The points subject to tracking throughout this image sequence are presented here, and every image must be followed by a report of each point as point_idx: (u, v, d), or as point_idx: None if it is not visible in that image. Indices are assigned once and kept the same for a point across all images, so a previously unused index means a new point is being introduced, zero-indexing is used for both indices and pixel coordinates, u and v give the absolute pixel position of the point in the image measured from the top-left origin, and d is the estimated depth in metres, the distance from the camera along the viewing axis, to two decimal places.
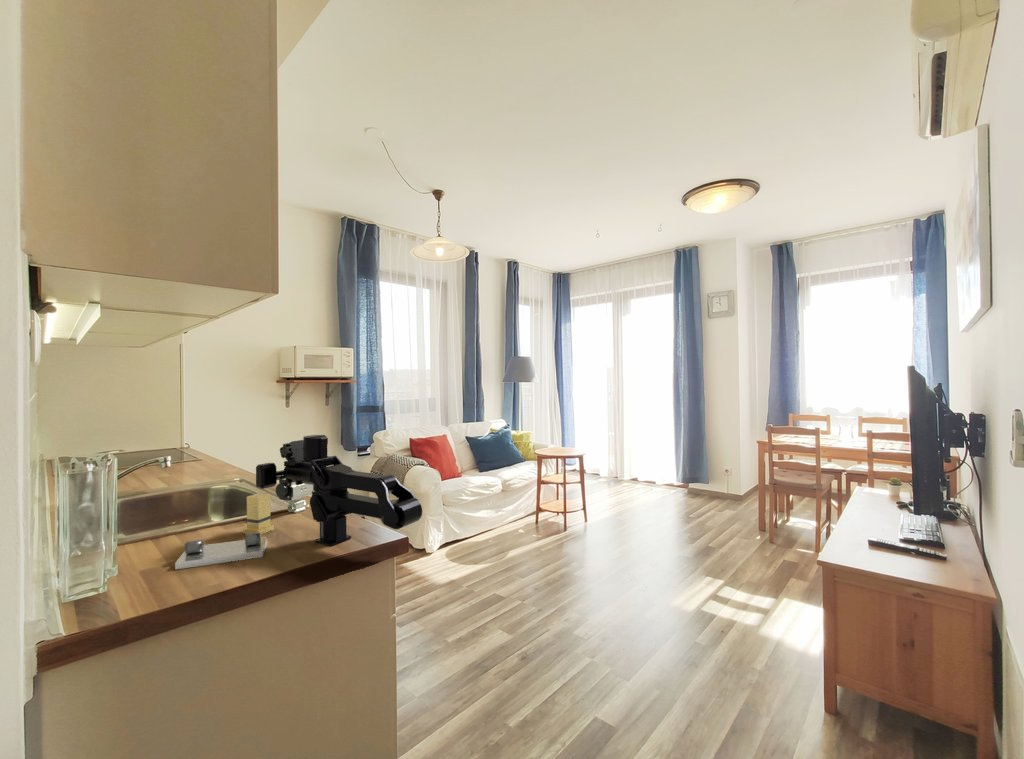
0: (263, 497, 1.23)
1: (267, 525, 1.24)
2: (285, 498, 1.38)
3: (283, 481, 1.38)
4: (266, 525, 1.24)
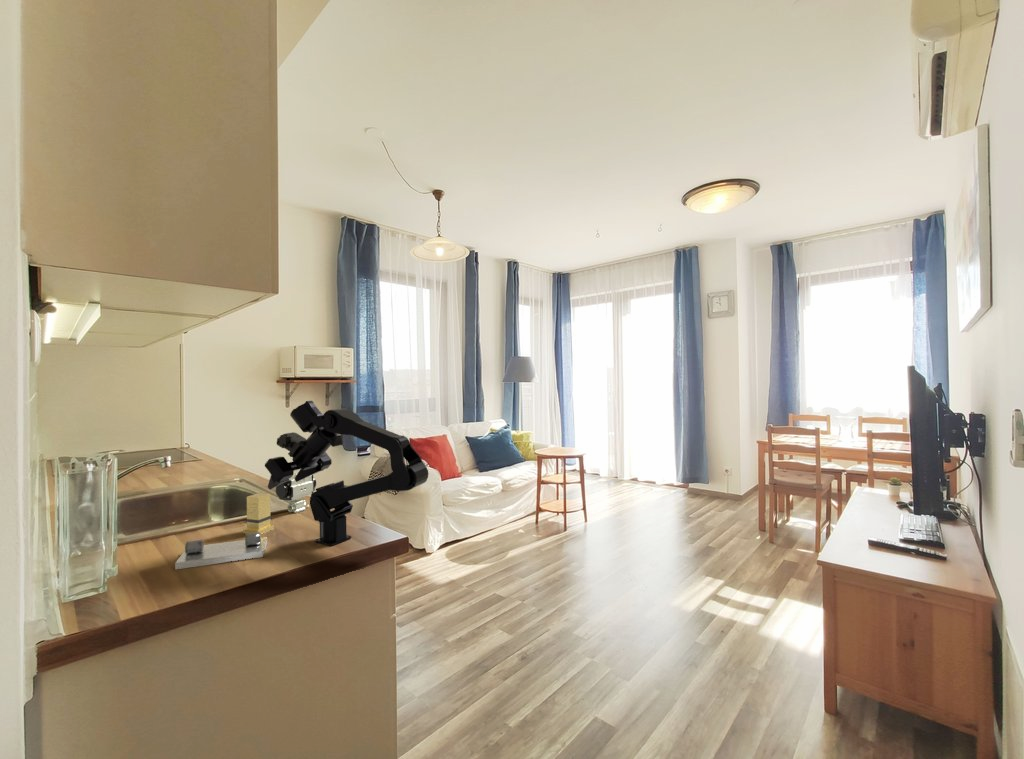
0: (263, 497, 1.23)
1: (267, 525, 1.24)
2: (285, 498, 1.38)
3: None
4: (266, 525, 1.24)
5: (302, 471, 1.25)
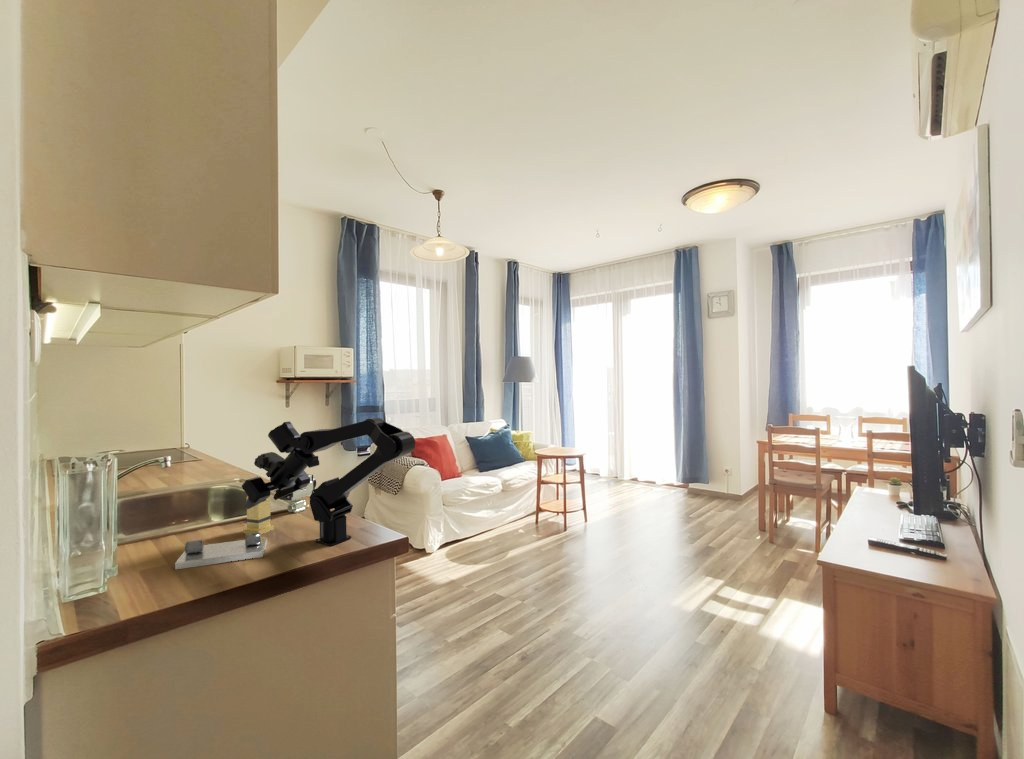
0: None
1: (267, 525, 1.24)
2: (285, 498, 1.38)
3: None
4: (266, 525, 1.24)
5: (281, 490, 1.27)
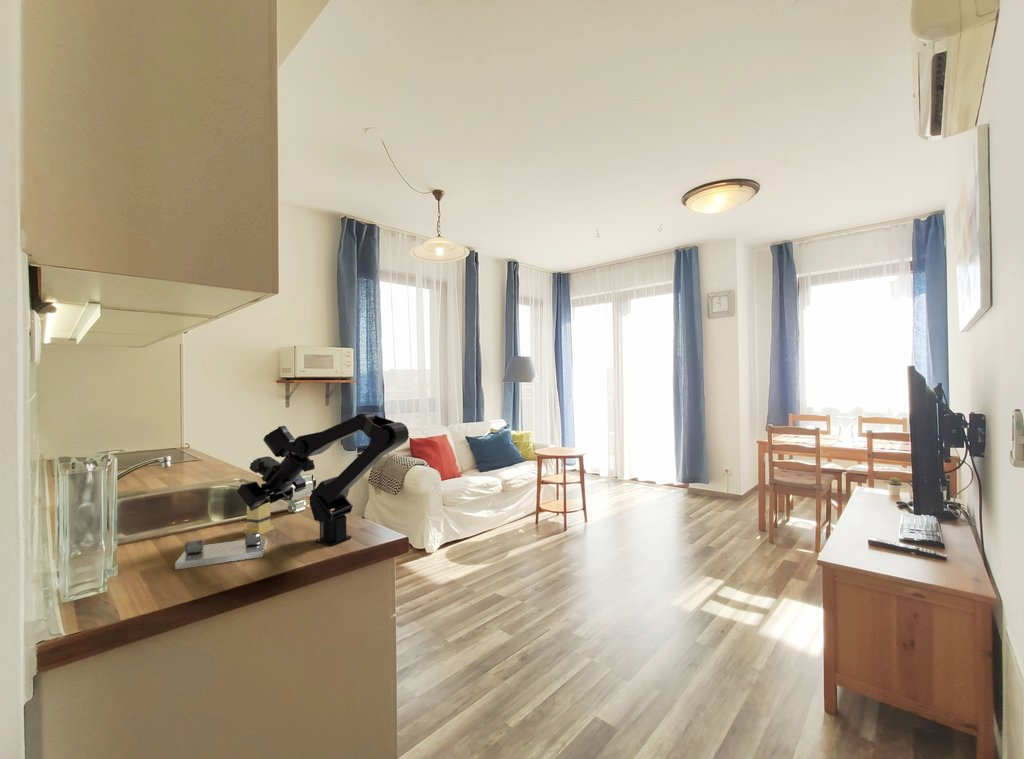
0: None
1: (267, 525, 1.24)
2: (285, 498, 1.38)
3: None
4: (266, 525, 1.24)
5: (270, 496, 1.25)
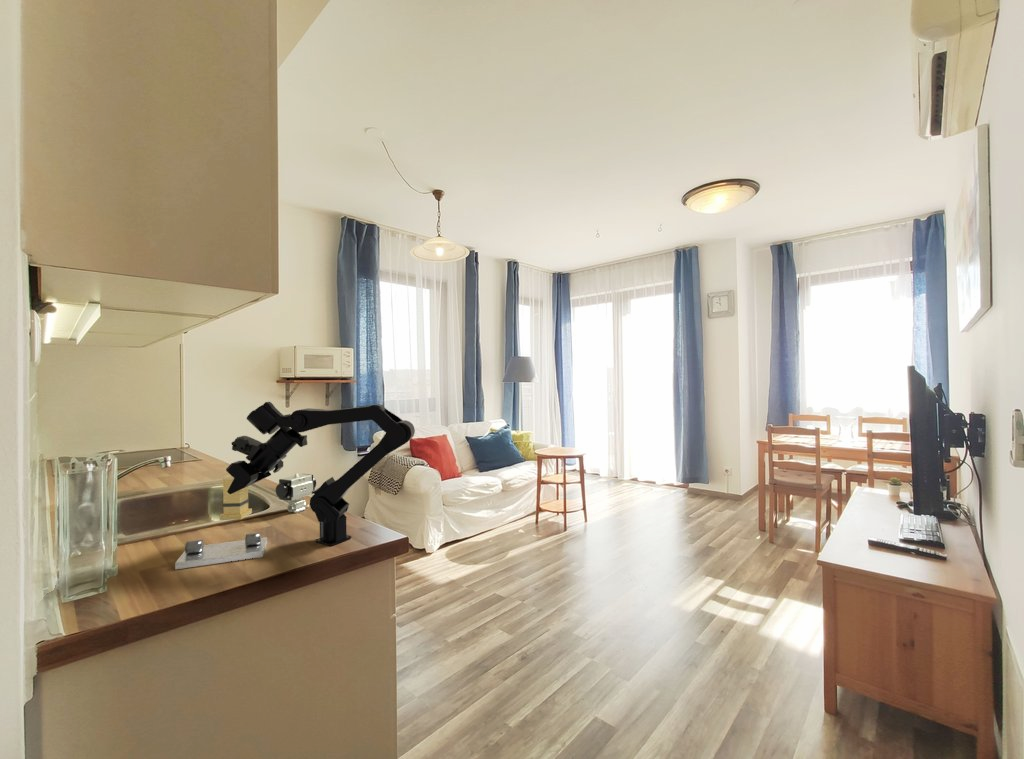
0: None
1: (246, 509, 1.16)
2: (285, 498, 1.38)
3: (283, 481, 1.38)
4: (245, 509, 1.16)
5: None
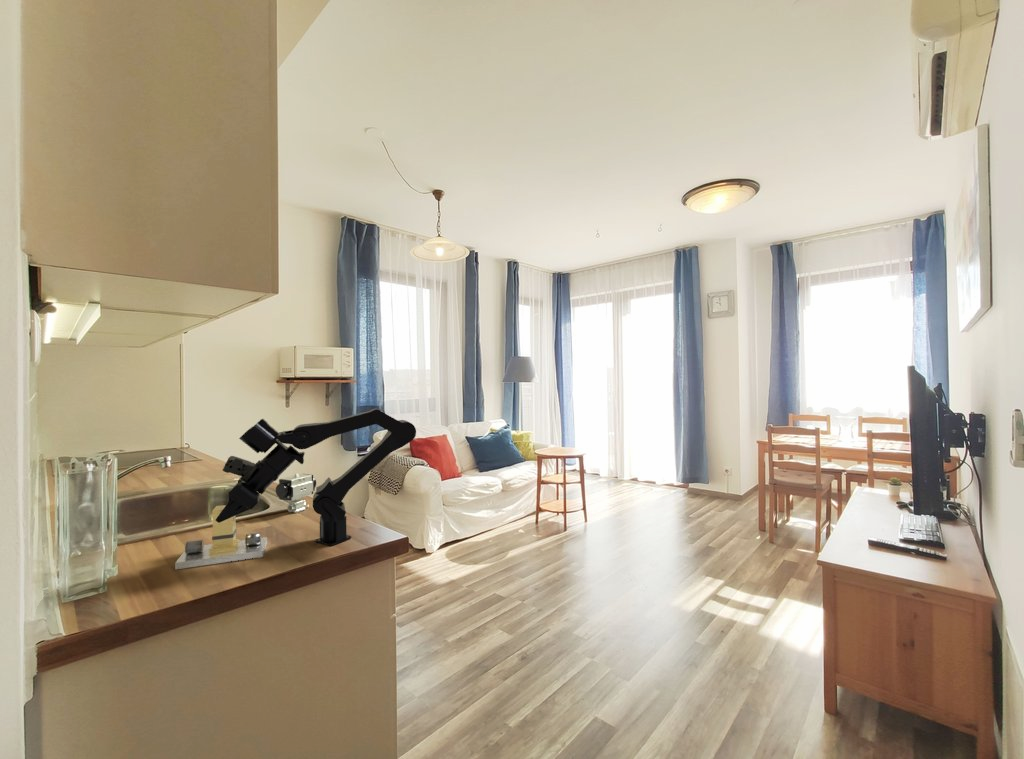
0: None
1: (235, 540, 1.09)
2: (285, 498, 1.38)
3: (283, 481, 1.38)
4: (234, 540, 1.09)
5: None
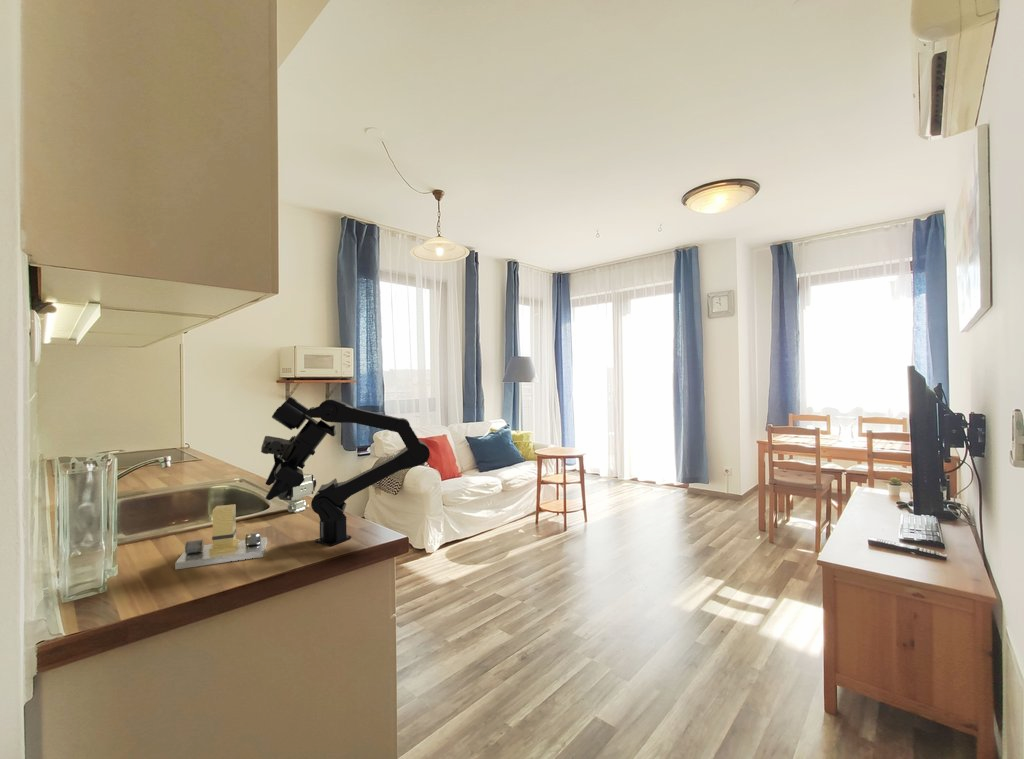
0: (233, 508, 1.08)
1: (235, 540, 1.09)
2: (285, 498, 1.38)
3: None
4: (234, 540, 1.09)
5: (275, 473, 1.17)
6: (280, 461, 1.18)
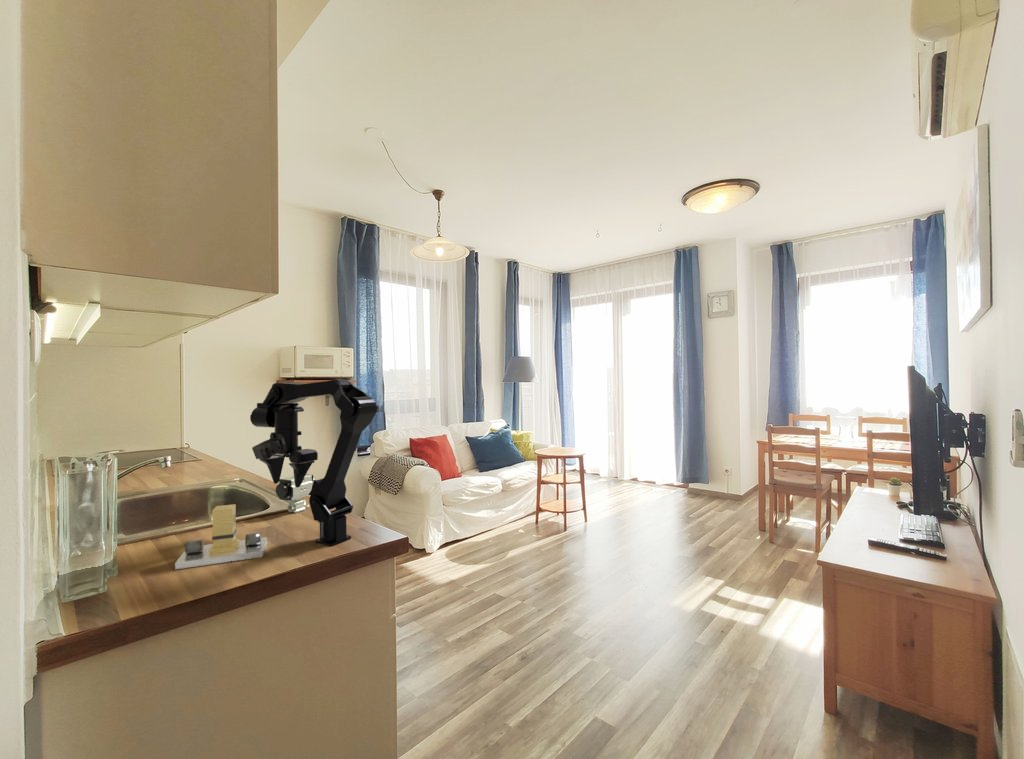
0: (233, 508, 1.08)
1: (235, 540, 1.09)
2: (285, 498, 1.38)
3: (283, 481, 1.38)
4: (234, 540, 1.09)
5: (275, 471, 1.25)
6: (272, 460, 1.24)
